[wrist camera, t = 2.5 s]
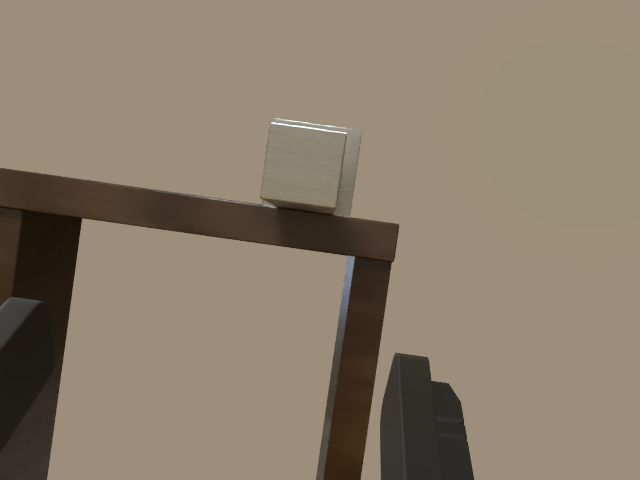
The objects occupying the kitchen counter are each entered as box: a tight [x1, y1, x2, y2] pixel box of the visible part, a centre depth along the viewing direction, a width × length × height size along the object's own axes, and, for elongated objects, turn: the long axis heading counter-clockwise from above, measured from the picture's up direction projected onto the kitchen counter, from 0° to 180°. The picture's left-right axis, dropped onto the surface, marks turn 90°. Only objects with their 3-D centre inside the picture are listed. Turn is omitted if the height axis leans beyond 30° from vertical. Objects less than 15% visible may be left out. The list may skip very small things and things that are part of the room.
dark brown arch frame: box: [0, 168, 399, 480], centre depth 36 cm, size 22×10×32 cm, turn 90°
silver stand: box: [260, 118, 362, 217], centre depth 31 cm, size 5×16×5 cm, turn 0°
